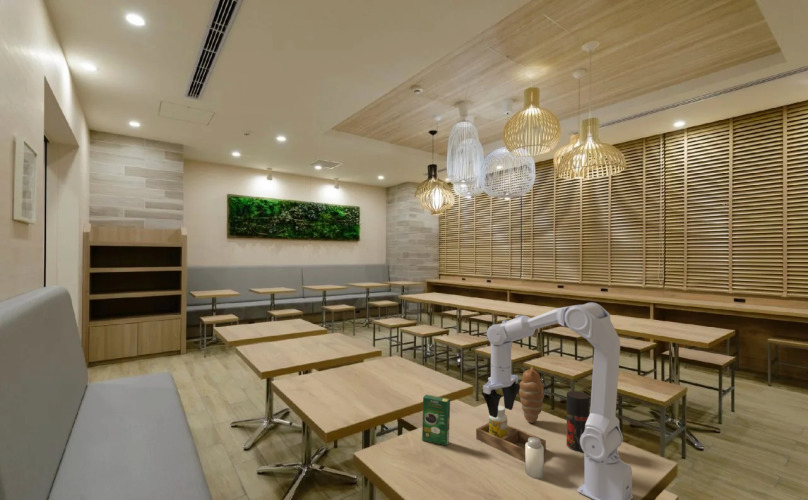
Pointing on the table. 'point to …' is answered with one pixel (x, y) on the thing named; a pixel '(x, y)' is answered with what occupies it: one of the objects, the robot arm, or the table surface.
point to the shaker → (534, 458)
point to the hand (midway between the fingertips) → (501, 412)
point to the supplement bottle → (498, 423)
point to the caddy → (506, 440)
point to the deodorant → (576, 418)
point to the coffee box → (436, 419)
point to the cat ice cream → (531, 395)
